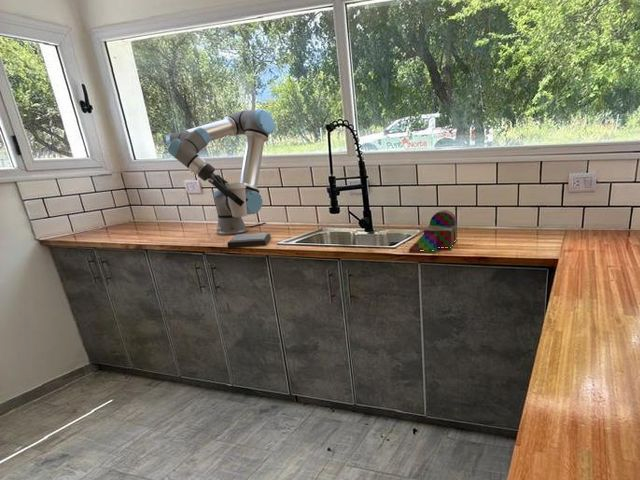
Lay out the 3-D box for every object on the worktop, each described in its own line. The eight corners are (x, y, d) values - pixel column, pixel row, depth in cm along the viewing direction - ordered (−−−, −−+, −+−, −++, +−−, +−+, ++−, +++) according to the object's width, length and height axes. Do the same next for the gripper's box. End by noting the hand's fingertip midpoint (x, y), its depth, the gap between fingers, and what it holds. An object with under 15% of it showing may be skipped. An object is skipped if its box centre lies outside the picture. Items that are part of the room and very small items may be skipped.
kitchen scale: (235, 240, 224) (234, 234, 223) (271, 238, 226) (270, 232, 225) (228, 247, 208) (226, 241, 207) (266, 245, 210) (265, 238, 209)
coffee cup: (254, 214, 217) (248, 182, 211) (244, 217, 208) (239, 184, 202) (235, 214, 218) (229, 182, 212) (225, 217, 209) (219, 184, 203)
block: (421, 240, 212) (420, 209, 207) (456, 240, 209) (456, 209, 204) (409, 252, 189) (408, 218, 184) (449, 253, 186) (449, 218, 181)
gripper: (204, 173, 214) (244, 206, 222) (190, 177, 193) (235, 212, 201) (213, 161, 213) (253, 194, 221) (200, 163, 192) (245, 199, 200)
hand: (244, 203), depth 211 cm, fingers closed on coffee cup, 10 cm apart
